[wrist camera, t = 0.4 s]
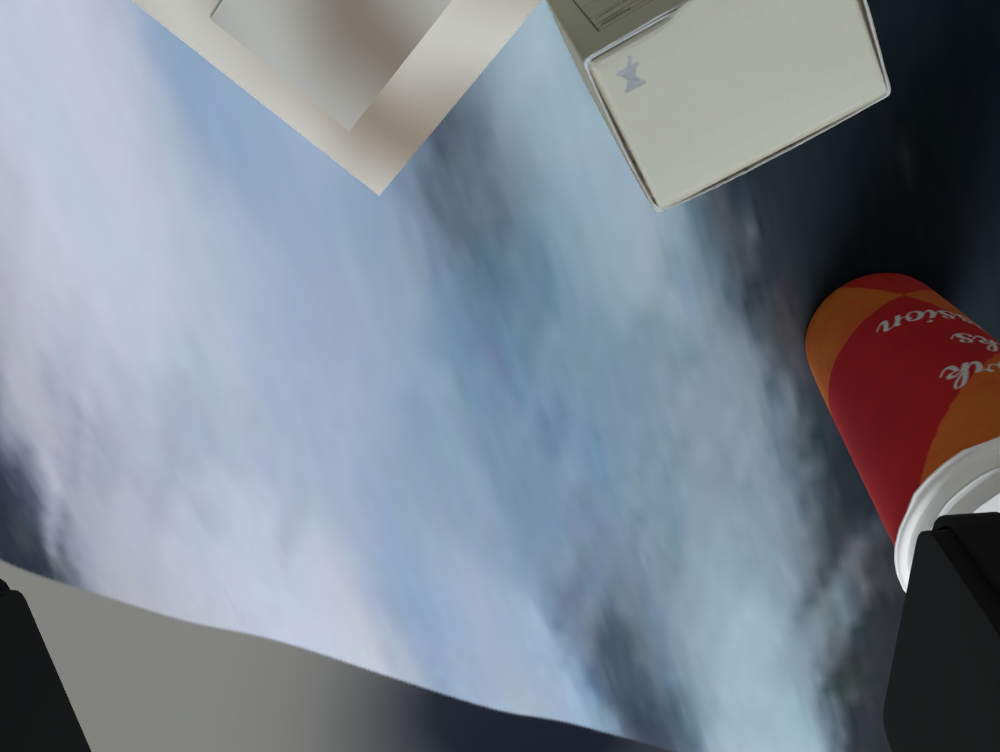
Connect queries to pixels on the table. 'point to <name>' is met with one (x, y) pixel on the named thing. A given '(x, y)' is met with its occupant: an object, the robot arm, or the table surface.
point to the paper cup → (910, 401)
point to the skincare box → (719, 81)
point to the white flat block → (350, 65)
